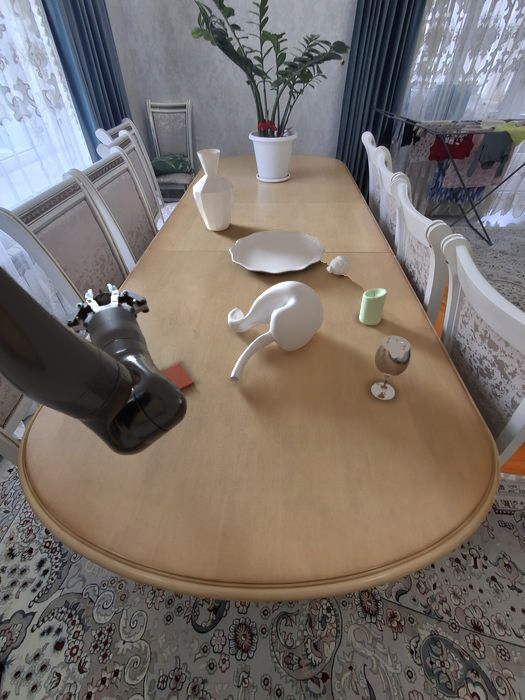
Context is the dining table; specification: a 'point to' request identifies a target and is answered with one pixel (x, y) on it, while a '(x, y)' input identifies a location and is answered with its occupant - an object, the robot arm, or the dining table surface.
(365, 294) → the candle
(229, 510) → the dining table surface
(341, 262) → the garlic bulb
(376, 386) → the wineglass
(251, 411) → the dining table surface
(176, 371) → the rectangular block
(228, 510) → the dining table surface
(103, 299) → the chess piece
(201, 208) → the vase
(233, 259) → the plate
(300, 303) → the stomach
